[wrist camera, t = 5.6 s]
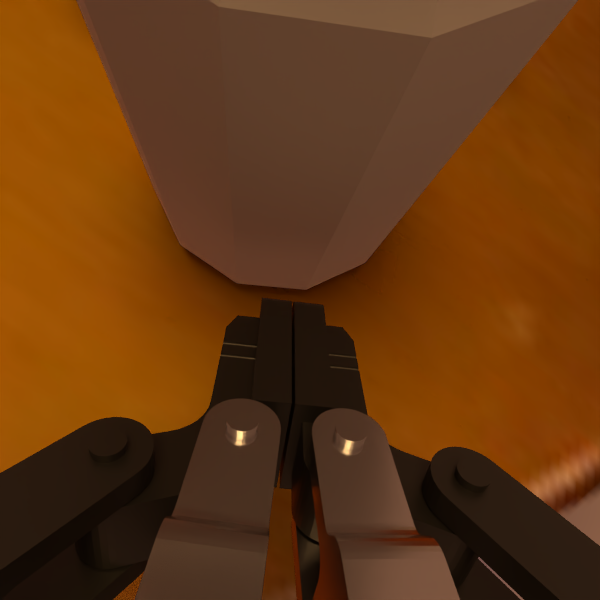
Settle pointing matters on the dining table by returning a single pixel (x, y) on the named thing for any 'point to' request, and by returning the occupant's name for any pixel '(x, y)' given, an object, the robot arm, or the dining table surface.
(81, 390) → the dining table surface
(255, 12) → the jar
